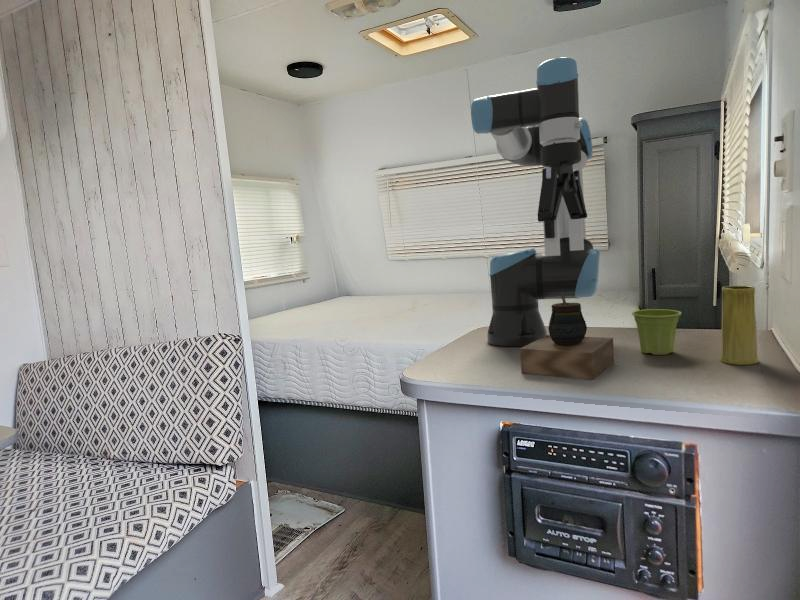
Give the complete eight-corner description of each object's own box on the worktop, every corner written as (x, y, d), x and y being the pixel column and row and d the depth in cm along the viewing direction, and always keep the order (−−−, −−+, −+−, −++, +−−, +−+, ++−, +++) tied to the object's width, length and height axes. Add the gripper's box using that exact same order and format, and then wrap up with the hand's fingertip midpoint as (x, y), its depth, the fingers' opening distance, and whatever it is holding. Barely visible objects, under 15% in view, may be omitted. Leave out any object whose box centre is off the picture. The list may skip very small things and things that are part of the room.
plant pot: (671, 346, 116) (670, 307, 115) (690, 355, 106) (689, 313, 105) (627, 348, 117) (626, 310, 116) (642, 358, 107) (641, 316, 106)
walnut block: (521, 373, 104) (520, 348, 103) (547, 357, 115) (546, 335, 114) (593, 379, 95) (592, 352, 95) (614, 361, 106) (613, 337, 106)
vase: (729, 366, 97) (728, 290, 95) (714, 358, 103) (713, 286, 101) (765, 364, 96) (764, 287, 94) (748, 357, 102) (747, 284, 100)
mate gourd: (556, 348, 101) (553, 297, 100) (543, 341, 108) (540, 294, 107) (593, 344, 101) (590, 293, 100) (577, 338, 109) (574, 290, 108)
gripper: (555, 134, 89) (561, 257, 92) (599, 145, 109) (603, 247, 112) (514, 141, 94) (521, 259, 97) (564, 151, 113) (568, 249, 116)
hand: (565, 253), depth 104 cm, fingers open, 13 cm apart
